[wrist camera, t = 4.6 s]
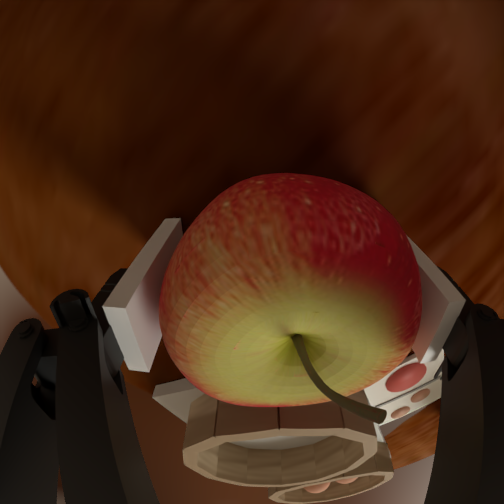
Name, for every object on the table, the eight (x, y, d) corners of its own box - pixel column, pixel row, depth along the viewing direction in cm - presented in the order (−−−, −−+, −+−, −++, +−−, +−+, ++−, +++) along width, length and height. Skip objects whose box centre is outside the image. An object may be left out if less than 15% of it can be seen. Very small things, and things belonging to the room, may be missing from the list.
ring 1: (274, 342, 15) (277, 403, 11) (395, 405, 19) (407, 443, 15) (161, 421, 20) (152, 460, 16) (281, 460, 24) (282, 492, 20)
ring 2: (342, 432, 21) (348, 469, 17) (404, 446, 24) (411, 471, 21) (245, 470, 26) (244, 498, 22) (320, 482, 30) (322, 504, 26)
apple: (397, 228, 13) (519, 383, 4) (287, 332, 16) (302, 501, 7) (270, 113, 11) (331, 104, 2) (163, 255, 14) (74, 436, 5)
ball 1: (316, 463, 25) (319, 488, 22) (334, 466, 26) (338, 489, 23) (295, 471, 26) (296, 495, 23) (313, 474, 27) (315, 496, 24)
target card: (359, 378, 18) (361, 384, 18) (441, 338, 17) (444, 343, 16) (378, 422, 22) (379, 427, 22) (440, 394, 21) (441, 398, 20)
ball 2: (347, 450, 23) (352, 477, 20) (364, 453, 24) (369, 478, 21) (323, 461, 24) (326, 486, 21) (340, 463, 25) (344, 487, 22)
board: (155, 385, 19) (151, 397, 18) (334, 327, 16) (338, 341, 15) (295, 477, 31) (296, 484, 30) (389, 451, 27) (391, 458, 26)
